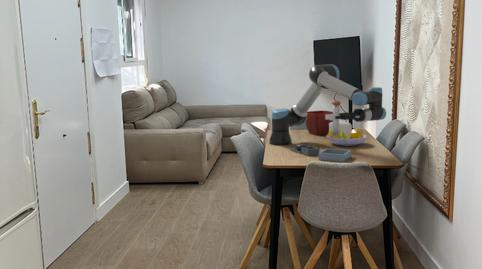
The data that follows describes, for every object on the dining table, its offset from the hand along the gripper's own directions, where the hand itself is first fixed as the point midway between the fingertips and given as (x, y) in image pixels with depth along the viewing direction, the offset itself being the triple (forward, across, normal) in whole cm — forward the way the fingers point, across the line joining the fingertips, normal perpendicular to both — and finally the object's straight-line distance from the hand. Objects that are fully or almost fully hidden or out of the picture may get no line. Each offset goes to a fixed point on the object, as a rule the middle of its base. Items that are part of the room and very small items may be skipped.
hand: (327, 117), depth 269 cm
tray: (-5, 0, -24) cm, 25 cm away
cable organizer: (-49, +58, -24) cm, 79 cm away
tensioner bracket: (+1, +23, -24) cm, 33 cm away
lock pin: (-5, 0, -10) cm, 12 cm away
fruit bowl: (-38, +35, -24) cm, 57 cm away
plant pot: (-48, +83, -24) cm, 99 cm away
